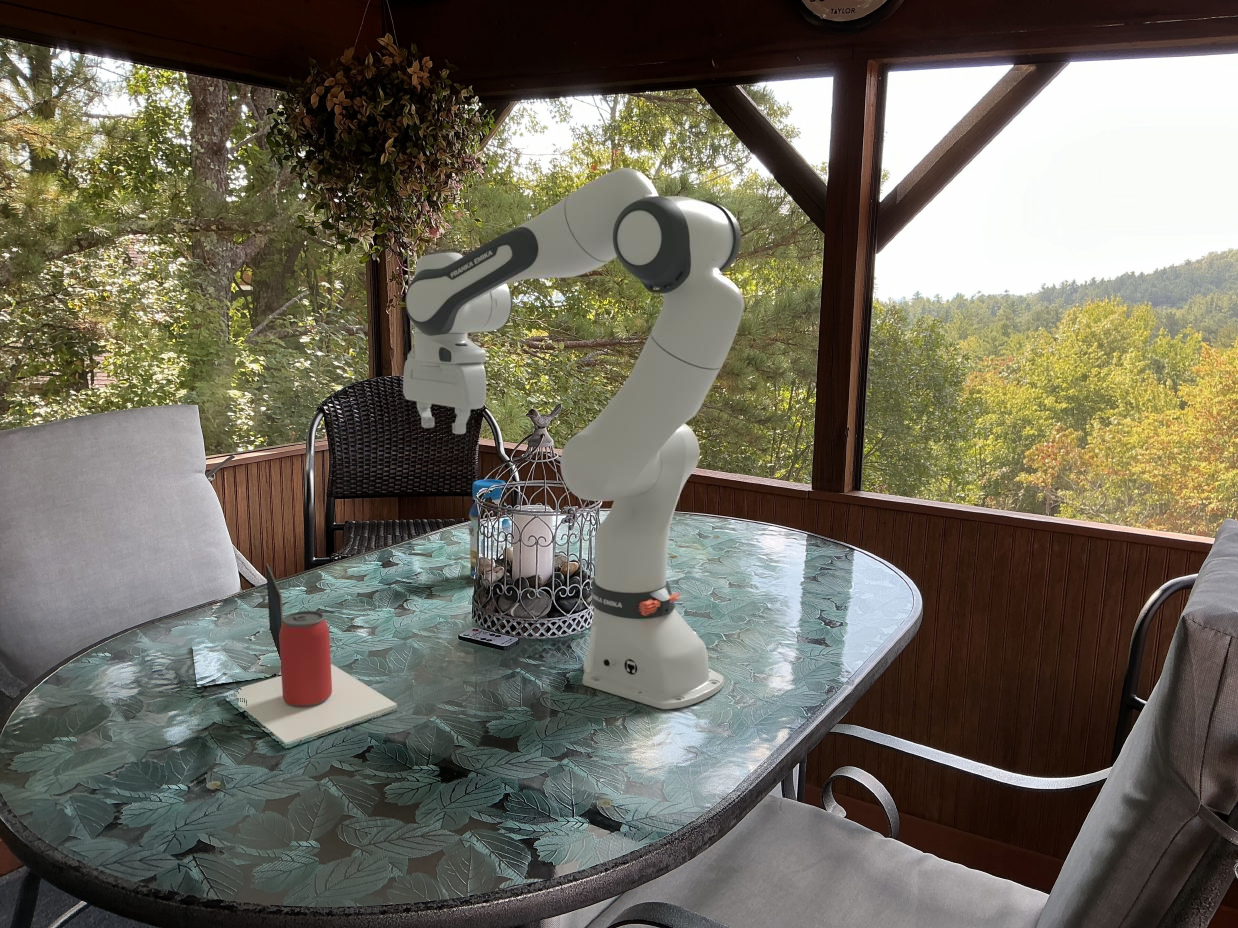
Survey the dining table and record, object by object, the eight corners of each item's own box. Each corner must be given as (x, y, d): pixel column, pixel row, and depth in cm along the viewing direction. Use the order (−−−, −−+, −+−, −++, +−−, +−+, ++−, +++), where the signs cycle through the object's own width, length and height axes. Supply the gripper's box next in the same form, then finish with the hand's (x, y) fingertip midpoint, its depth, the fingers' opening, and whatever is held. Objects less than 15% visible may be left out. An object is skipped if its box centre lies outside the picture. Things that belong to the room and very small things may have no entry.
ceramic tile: (397, 710, 125) (396, 703, 125) (286, 749, 114) (285, 742, 114) (328, 667, 139) (328, 661, 139) (223, 699, 128) (223, 692, 128)
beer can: (312, 684, 131) (308, 605, 129) (342, 695, 127) (338, 615, 125) (273, 700, 126) (268, 619, 123) (302, 713, 122) (298, 629, 120)
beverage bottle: (503, 584, 180) (502, 487, 176) (463, 581, 182) (461, 485, 178) (516, 572, 188) (515, 479, 184) (478, 569, 190) (476, 477, 186)
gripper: (392, 347, 157) (395, 425, 160) (460, 353, 143) (462, 439, 146) (423, 346, 162) (425, 422, 164) (492, 352, 148) (493, 435, 150)
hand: (443, 430), depth 155 cm, fingers open, 8 cm apart
